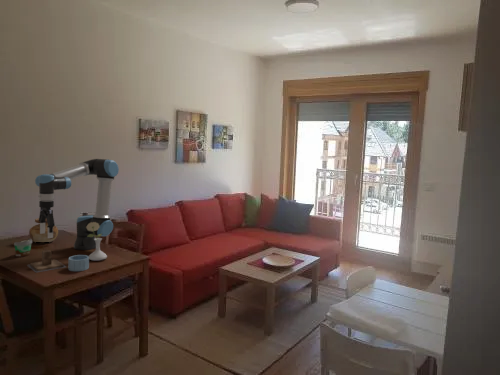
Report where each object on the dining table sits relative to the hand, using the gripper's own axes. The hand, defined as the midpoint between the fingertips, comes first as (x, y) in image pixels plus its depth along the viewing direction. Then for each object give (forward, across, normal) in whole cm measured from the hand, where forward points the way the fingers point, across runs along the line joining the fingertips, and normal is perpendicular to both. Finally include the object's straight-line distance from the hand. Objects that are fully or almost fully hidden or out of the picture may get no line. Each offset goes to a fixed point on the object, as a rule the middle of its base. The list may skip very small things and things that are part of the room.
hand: (46, 235), depth 224 cm
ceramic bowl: (+19, +15, +13) cm, 28 cm away
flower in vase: (+19, +3, +29) cm, 35 cm away
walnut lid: (+19, 0, 0) cm, 19 cm away
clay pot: (+19, -60, +17) cm, 65 cm away
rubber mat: (+19, 0, 0) cm, 19 cm away
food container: (+19, -31, -3) cm, 37 cm away
